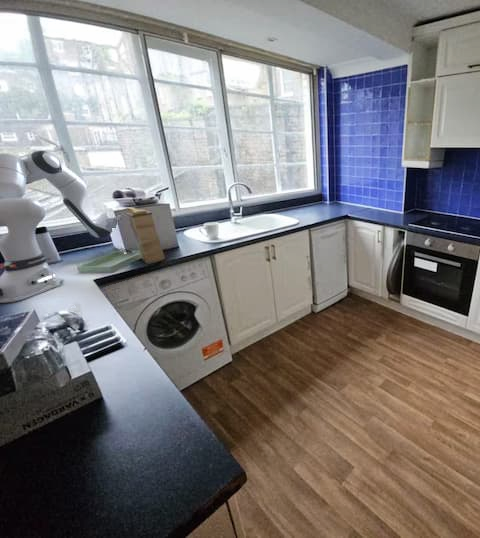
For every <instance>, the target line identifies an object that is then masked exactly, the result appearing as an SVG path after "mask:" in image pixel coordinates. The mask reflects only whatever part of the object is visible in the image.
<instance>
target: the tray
mask: <svg viewBox="0 0 480 538" xmlns="http://www.w3.org/2000/svg"><path fill="white" fill-rule="evenodd" d="M124 251H125V250H114V251H111V252H109V253H107V254H105V255H102V256H100V257H97V258H95V259H93V260H90V261H88V262H85V263H83V264H81V265H78V266H76V268H77V271H78V273H114V272H116V271H118V270H121V269H123V268H125V267H127V266H129V265H131V264H133V263H135V262H137V261H139V260H142V258H141V255H140V252H139V250H131V251H132V254H124Z"/></svg>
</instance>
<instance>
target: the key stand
mask: <svg viewBox="0 0 480 538" xmlns="http://www.w3.org/2000/svg"><path fill="white" fill-rule="evenodd" d="M146 211H147V213H143V214H137V215H135V214H132V211H128V212H125V214H124V215H125V216H127V217H128V220H129V223H130V226H131V229H132V231H133V234H134V235H133V238H134V240H135V243H136V245H137V249H138V251H139V252H140V255H141V260H142V262H145V263H146V264H148V265H151V264H154V263H158V262H161V261H165V260H166V257H165V254H164V250H163V247H162V245H161V241H160V238H159V234H158V231H157V228H156V225H155V221H154V218H153V212H151V211H148V210H146Z"/></svg>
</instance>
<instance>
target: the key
mask: <svg viewBox="0 0 480 538" xmlns="http://www.w3.org/2000/svg"><path fill="white" fill-rule="evenodd" d="M125 211H126V212H132V214H135V215H137V214H143V213H147V211H148V210H146V209H138V208H135V207H132V206H131V207H129V206H128V207H126V208H125Z"/></svg>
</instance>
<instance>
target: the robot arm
mask: <svg viewBox="0 0 480 538" xmlns="http://www.w3.org/2000/svg"><path fill="white" fill-rule="evenodd" d="M44 179H45V180H46V181H48V182H49V183H50V184H51V185H52V186H53V187H54V188H56V189H57V190H58V191H59V193H60V194H61V196H62V198H63V199H62V202H63V204H64V206H65V207H66V208H67V209H68V210H69V211H70V212H71V214H73V216H74V217H75V218H76V219H77V220H78V221H79V223H81V224H82V225H83V227H85V229H86V231H88V233H89V234H90V235H91V236H92V237H95V238H96V239H107V238H108V237H109V236H111V234H112V232H113V231H112V228H116V225H117V221H118V220H120V219H122V216H121V215H118V216H117V217H114V218H108V216H107V213H106V210H105V211H104V212H102V213H101V214H100V215H99V216H98V217H96V218H95V219H94V220H93V219H92V218H91V217H90V216H89V214H87V212H86V211H85V210H84V209H83V202H84V199H85V197H86V195H87V192H88V188H87V184H86V183H85V181H83V180H82V179H81V177H79V176H78V175H77V174H76V173H74V172H73V171H72V170H70V169H69V168H68V167H67V166H65V165H64V164H62V163H61V162H60V160H59V158H57V156H56V155H54V154H53V153H51V152H49V151H46V150H36V151H33V152H31V153H28V154H25V155H22V156H16V155H14V154H11V153H3V152H2V153H0V228H1V227H2V228H3V227H6V228H7V233H6V234H5V235H3V236H2V237H0V253H1V256H2V257H3V259H4V262H3V263H0V270H3V269H4V271H3V272H2V274H1V275H0V304H7V303H16V302H19V301H23V300H26V299H28V298H30V297H34V296H36V295H39V294H42V293H44V292H47V291H49V290H52V289H54V288H57V287H59V286H61V282H62V281H61V279H60V278H59V277H58V276H57V274H55V272H54V271H53V269H52V268H51V267H50V264H47V259H46V257H45V255H44V254H43V253H42V252H41V250H40V248H39V246H38V243H37V240H36V237H35V230H36V228H38V225H39V224H40V223H41V222H42V221H43V220H44V219H45V217H46V209H45V207H44V206H43V204H42V203H41V202H40V201H38V200H37V199H35V198H28V197H24V196H25V194H26V188H27V185H29V184H32V183H35V182H38V181H41V180H44Z"/></svg>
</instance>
